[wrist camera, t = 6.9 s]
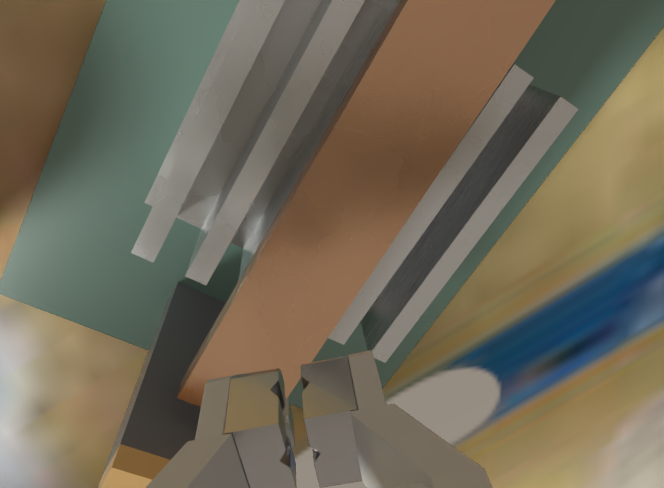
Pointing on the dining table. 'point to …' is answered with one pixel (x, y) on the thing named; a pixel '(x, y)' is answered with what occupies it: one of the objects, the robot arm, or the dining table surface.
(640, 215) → the dining table surface
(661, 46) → the dining table surface
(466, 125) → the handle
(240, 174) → the heatsink
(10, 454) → the dining table surface
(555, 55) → the board
